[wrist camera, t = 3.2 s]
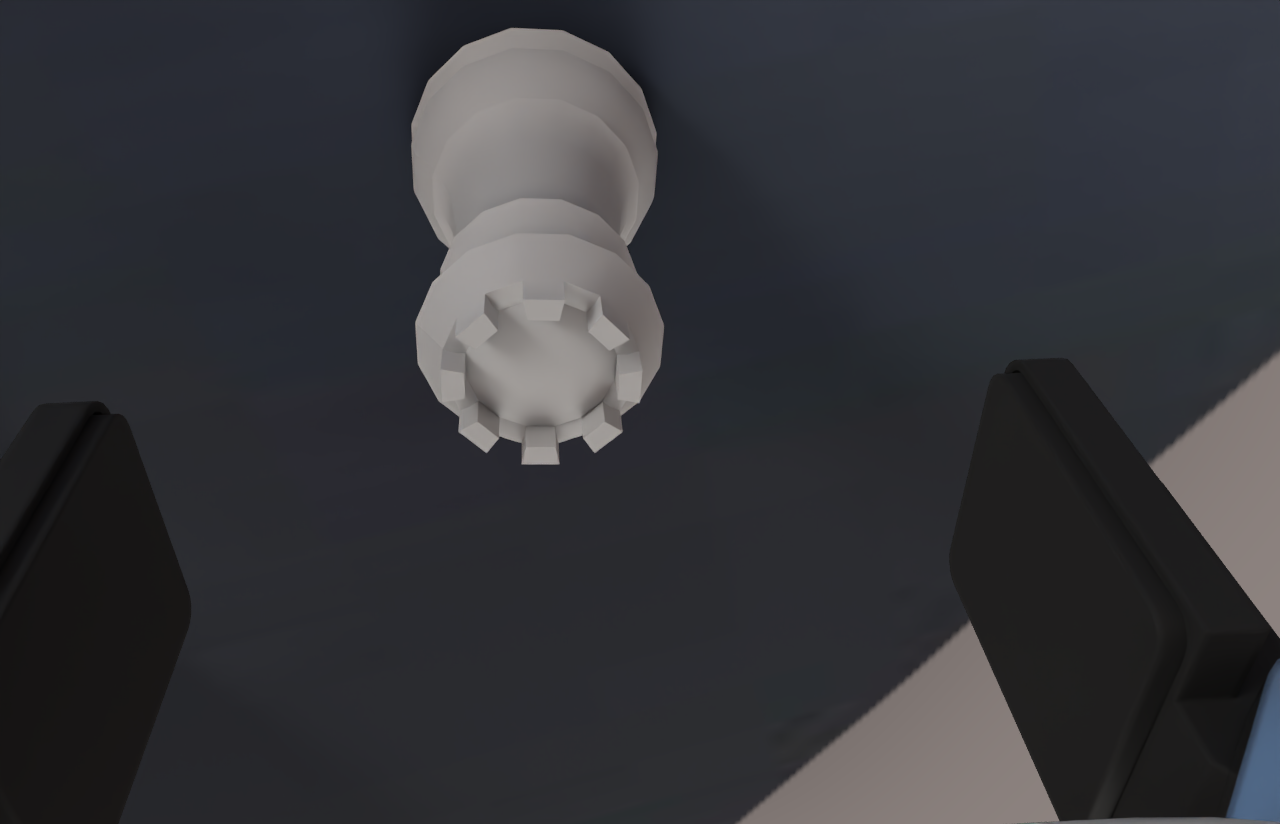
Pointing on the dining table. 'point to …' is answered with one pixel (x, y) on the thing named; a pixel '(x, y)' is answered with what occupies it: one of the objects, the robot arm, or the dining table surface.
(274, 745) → the dining table surface
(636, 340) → the rook chess piece
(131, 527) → the robot arm
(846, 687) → the dining table surface
